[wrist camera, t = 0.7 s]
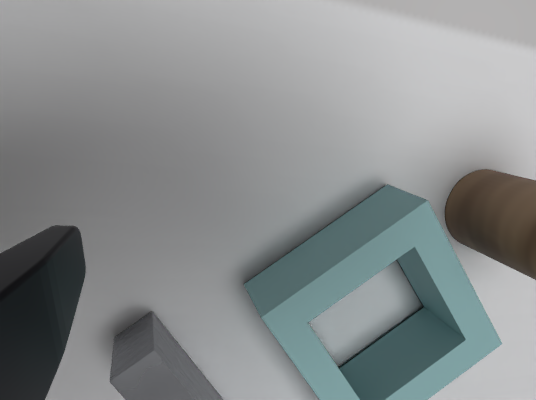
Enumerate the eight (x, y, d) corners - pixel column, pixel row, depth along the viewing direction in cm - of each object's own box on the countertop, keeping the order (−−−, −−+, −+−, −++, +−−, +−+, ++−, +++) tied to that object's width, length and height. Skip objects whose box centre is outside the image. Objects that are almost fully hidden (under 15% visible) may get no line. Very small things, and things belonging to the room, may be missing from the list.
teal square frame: (329, 404, 26) (357, 451, 22) (243, 284, 23) (261, 317, 20) (456, 311, 26) (502, 343, 23) (387, 184, 24) (427, 200, 20)
